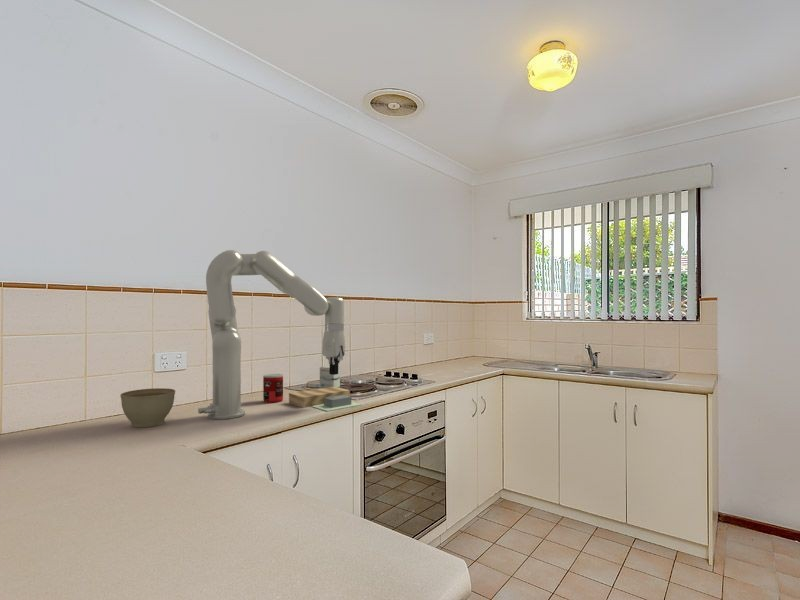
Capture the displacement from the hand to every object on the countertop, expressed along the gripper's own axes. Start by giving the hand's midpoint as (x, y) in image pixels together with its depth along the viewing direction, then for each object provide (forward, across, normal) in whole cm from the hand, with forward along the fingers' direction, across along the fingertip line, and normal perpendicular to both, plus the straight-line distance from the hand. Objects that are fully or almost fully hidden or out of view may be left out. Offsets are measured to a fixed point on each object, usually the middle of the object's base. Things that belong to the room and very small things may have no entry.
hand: (333, 374), depth 177 cm
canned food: (+13, -25, -14) cm, 31 cm away
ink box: (+13, -25, +14) cm, 31 cm away
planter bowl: (+13, -19, -62) cm, 66 cm away
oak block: (+12, -11, 0) cm, 17 cm away
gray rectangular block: (+11, +1, +1) cm, 11 cm away
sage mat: (+12, +2, 0) cm, 13 cm away
